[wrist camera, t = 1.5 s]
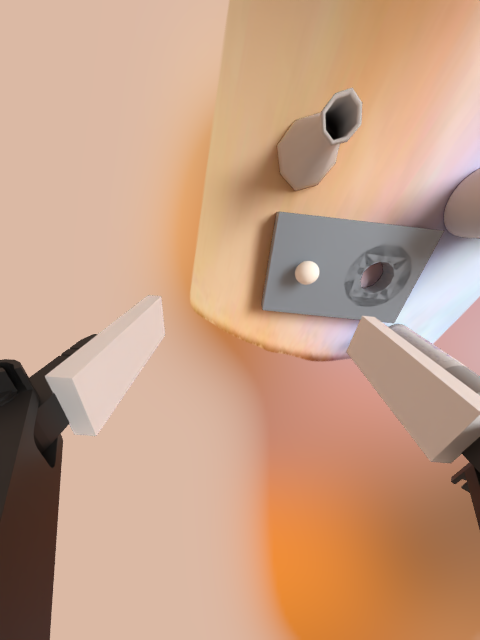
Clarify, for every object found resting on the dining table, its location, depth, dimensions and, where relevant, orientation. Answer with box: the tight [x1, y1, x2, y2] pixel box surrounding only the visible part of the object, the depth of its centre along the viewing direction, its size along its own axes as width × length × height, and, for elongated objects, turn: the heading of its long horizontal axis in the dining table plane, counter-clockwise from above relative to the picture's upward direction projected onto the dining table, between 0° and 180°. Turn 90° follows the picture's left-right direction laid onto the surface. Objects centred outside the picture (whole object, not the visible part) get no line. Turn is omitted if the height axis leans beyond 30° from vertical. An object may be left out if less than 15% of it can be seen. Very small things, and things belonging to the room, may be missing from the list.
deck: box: [261, 212, 444, 323], centre depth 29 cm, size 14×22×2 cm, turn 84°
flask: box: [277, 88, 362, 191], centre depth 20 cm, size 7×7×10 cm
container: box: [389, 324, 480, 395], centre depth 29 cm, size 5×5×15 cm
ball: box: [295, 261, 319, 285], centre depth 27 cm, size 3×3×3 cm
